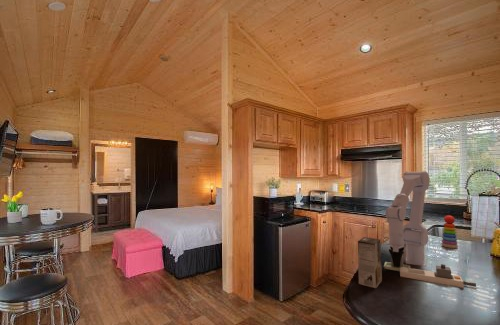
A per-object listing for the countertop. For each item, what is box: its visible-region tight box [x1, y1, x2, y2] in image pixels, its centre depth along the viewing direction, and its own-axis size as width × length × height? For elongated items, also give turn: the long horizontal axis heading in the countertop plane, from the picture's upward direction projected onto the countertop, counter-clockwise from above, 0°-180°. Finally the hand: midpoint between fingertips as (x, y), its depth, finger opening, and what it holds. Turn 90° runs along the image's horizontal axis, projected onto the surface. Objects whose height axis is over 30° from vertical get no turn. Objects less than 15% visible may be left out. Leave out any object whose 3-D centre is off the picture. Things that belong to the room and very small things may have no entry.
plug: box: [390, 254, 404, 268], centre depth 115 cm, size 4×4×6 cm
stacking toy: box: [441, 215, 459, 249], centre depth 157 cm, size 8×8×19 cm
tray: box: [383, 261, 411, 272], centre depth 115 cm, size 8×10×1 cm
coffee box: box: [357, 236, 383, 289], centre depth 99 cm, size 9×6×16 cm
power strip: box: [399, 267, 477, 289], centre depth 101 cm, size 7×24×3 cm, turn 58°
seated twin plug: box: [435, 263, 452, 279], centre depth 100 cm, size 4×4×6 cm
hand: (397, 264), depth 115 cm, fingers open, 5 cm apart
